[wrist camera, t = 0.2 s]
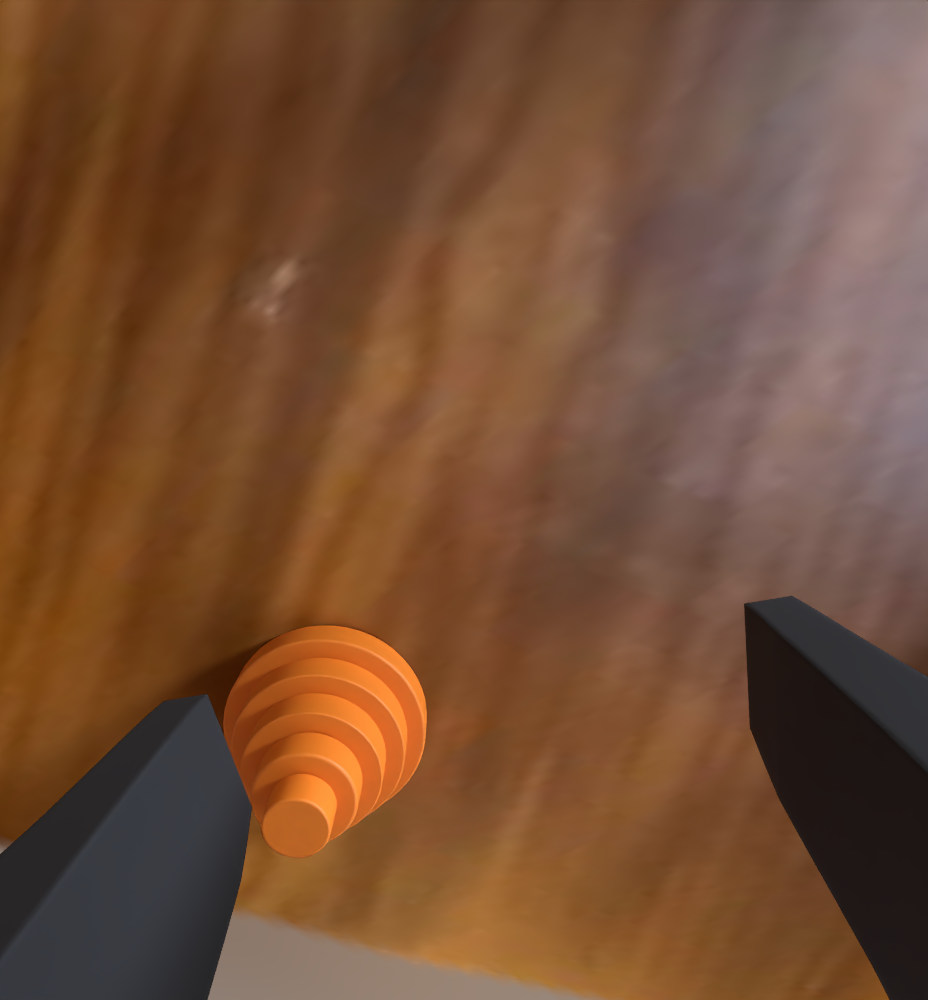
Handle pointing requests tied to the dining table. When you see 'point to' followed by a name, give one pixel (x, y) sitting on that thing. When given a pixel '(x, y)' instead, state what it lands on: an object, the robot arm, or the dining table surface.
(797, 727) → the robot arm
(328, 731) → the cone
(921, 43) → the dining table surface
